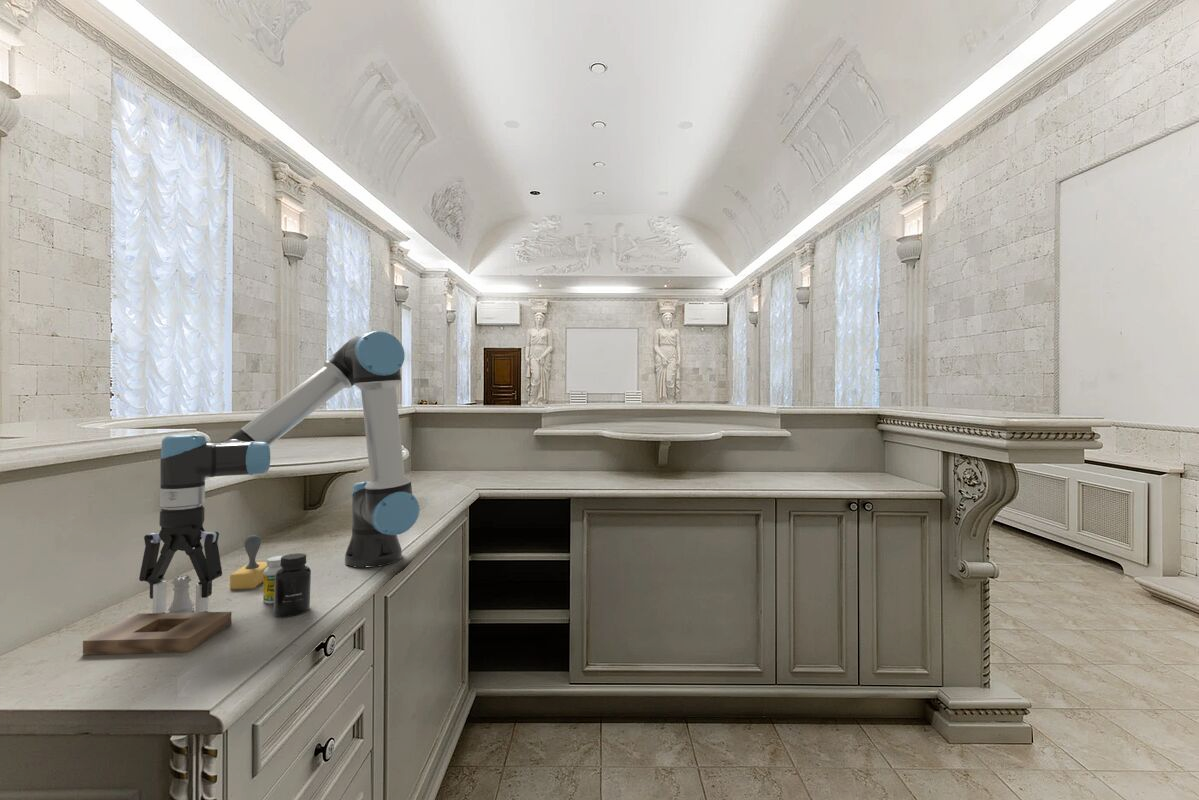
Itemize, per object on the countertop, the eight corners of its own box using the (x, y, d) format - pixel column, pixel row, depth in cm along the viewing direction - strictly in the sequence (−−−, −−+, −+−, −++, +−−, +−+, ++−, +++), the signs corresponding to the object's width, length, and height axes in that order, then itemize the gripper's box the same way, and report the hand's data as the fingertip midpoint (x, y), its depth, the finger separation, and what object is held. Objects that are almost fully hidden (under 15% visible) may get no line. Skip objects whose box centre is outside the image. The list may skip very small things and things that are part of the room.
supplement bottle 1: (290, 593, 122) (290, 553, 122) (291, 601, 117) (291, 559, 117) (262, 598, 119) (263, 557, 119) (262, 606, 114) (263, 563, 114)
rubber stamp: (249, 576, 134) (249, 530, 134) (273, 575, 135) (273, 529, 136) (229, 589, 125) (229, 540, 125) (255, 588, 126) (256, 539, 126)
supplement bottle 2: (289, 619, 107) (290, 562, 107) (266, 614, 109) (266, 558, 110) (317, 607, 114) (318, 553, 114) (295, 603, 116) (295, 550, 116)
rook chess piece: (164, 619, 107) (164, 581, 107) (171, 611, 111) (172, 574, 111) (190, 616, 109) (191, 578, 109) (197, 608, 113) (197, 572, 113)
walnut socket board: (231, 623, 105) (231, 611, 105) (188, 651, 93) (188, 638, 93) (138, 626, 104) (138, 613, 104) (82, 654, 92) (82, 640, 92)
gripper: (116, 510, 106) (113, 621, 105) (221, 509, 107) (219, 618, 107) (145, 503, 113) (143, 606, 113) (243, 502, 115) (242, 605, 114)
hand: (180, 612), depth 110 cm, fingers open, 8 cm apart
